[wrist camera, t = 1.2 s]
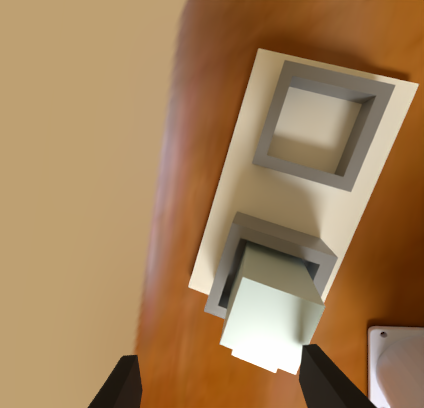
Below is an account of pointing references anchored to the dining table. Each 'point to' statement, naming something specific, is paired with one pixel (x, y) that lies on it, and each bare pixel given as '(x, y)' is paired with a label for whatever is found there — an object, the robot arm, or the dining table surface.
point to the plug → (271, 309)
